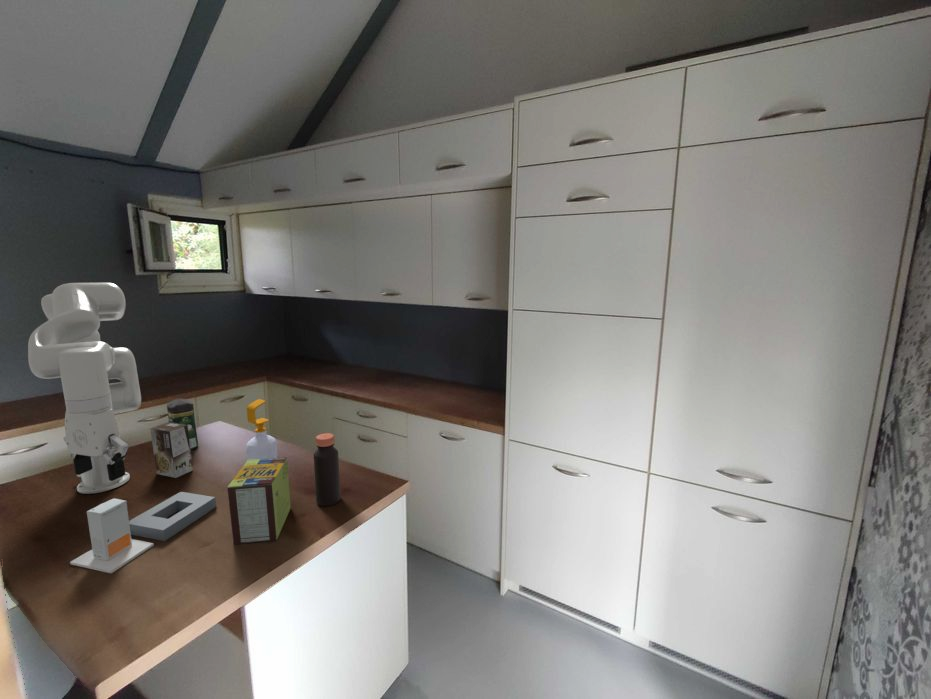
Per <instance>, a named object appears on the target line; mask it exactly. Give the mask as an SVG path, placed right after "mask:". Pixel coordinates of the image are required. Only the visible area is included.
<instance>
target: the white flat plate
mask: <svg viewBox="0 0 931 699" xmlns="http://www.w3.org/2000/svg"><path fill="white" fill-rule="evenodd" d="M131 540H132V546H131V547H129V548H127V549H126V550H124V551H122V552H120V553H119V554H117V555H116V556H114V557H112V558H111V559H109V560H108V561H105V560H101V559H96V558H94V557H93V550H92V549H90V550H88V551H86V552H84V553H83V554H81V555H80V556H78V557H77V558H74V559H73V560H71V561H70V562H69V564H70V565H71V566H76V567H81V568H84V569H85V568H86V569H90V570H95V571H99V572H103V573H108V574H113V573H114V572H116V571H117V570H119V569H120V568H122V567H123V566H125V565H126V564H128V563H130V562H131V561H133V560H134V559H136V558H137V557H139V556H140V555H141V554H143V553H144V552H146V551H147V550H149V549H151V548H152V547H154V546H155V545H154V544H155V543H154V542H149V541H145V540H140V539H139V540H138V539H135V538H134V539H133V538H131Z"/></svg>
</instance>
